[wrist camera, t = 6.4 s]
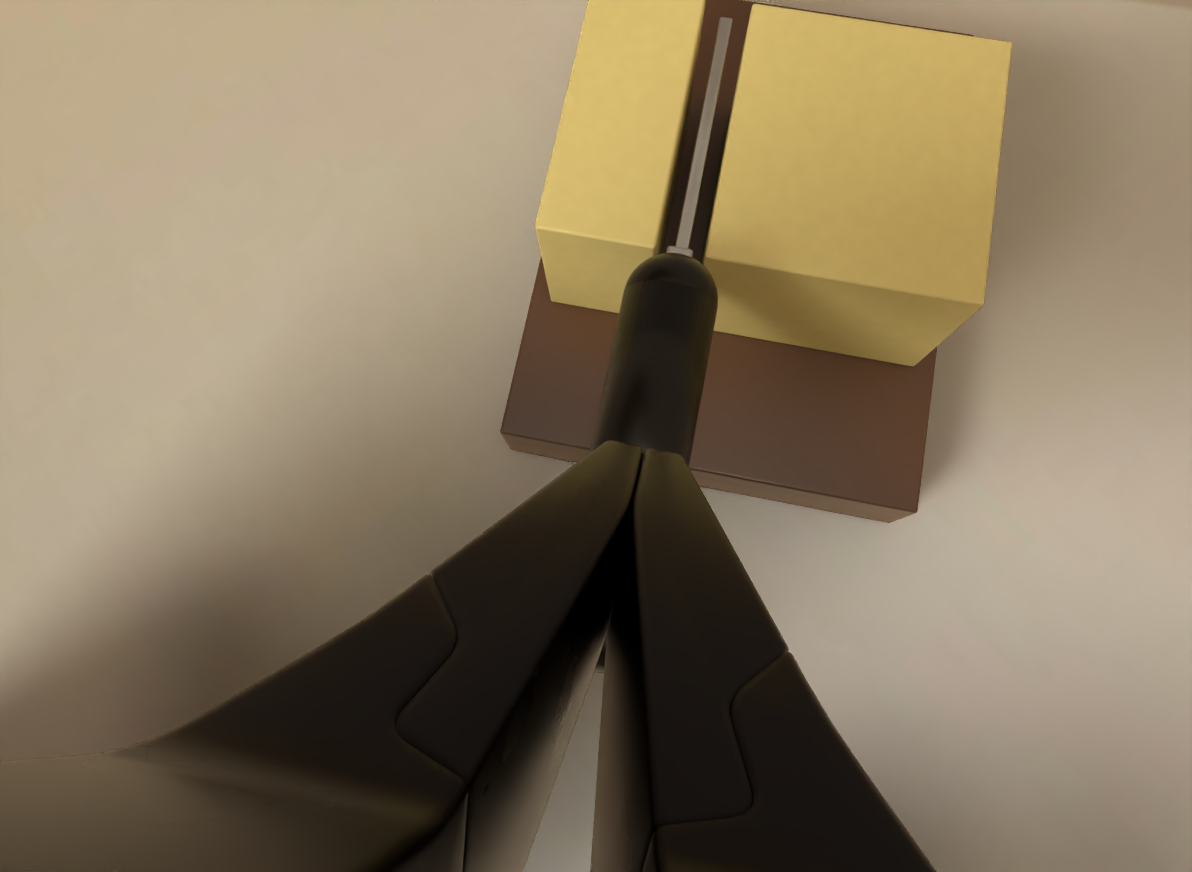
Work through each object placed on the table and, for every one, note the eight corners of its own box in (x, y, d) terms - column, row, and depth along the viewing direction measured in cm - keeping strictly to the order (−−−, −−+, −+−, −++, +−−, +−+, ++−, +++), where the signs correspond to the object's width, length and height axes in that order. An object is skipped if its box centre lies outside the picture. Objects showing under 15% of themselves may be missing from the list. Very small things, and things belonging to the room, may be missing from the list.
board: (890, 523, 21) (918, 513, 19) (510, 449, 22) (499, 432, 20) (946, 82, 24) (975, 34, 22) (606, 29, 25) (605, -22, 23)
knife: (642, 669, 18) (651, 686, 13) (563, 652, 19) (541, 663, 13) (746, 104, 22) (786, -60, 16) (678, 93, 22) (695, -73, 16)
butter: (914, 367, 20) (984, 305, 16) (550, 302, 21) (533, 227, 17) (941, 147, 21) (1013, 40, 17) (598, 92, 22) (593, -23, 18)
